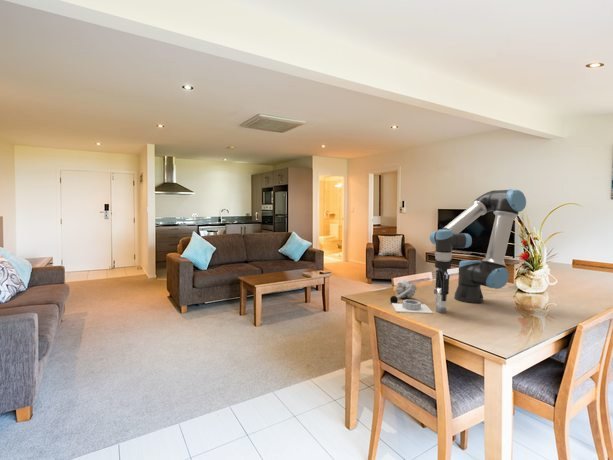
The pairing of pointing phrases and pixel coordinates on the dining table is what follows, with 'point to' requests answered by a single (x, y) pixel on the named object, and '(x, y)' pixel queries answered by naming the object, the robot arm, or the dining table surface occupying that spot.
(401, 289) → the valve
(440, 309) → the grey upright cylinder
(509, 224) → the robot arm
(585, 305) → the dining table surface
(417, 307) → the duct panel
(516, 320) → the dining table surface
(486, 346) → the dining table surface
